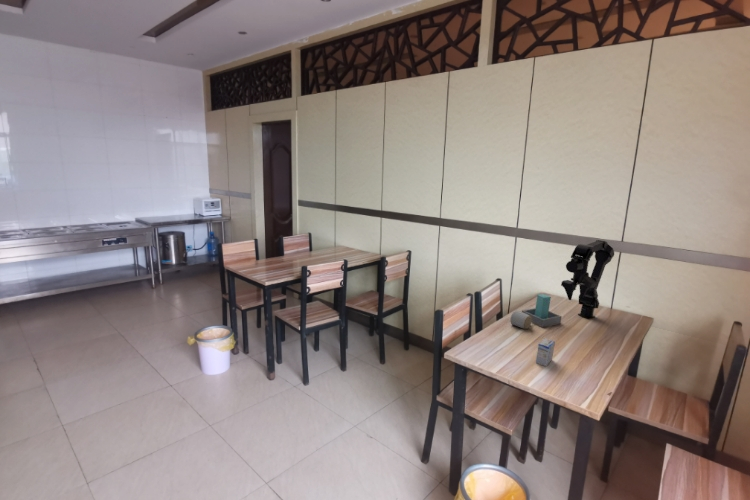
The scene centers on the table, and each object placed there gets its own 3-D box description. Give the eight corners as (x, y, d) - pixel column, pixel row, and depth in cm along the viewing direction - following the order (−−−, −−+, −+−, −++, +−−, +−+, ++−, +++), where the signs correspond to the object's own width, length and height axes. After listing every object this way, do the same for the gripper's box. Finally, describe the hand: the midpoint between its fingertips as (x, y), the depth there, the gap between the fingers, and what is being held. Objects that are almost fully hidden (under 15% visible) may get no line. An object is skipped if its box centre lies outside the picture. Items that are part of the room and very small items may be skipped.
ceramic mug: (524, 331, 192) (526, 316, 190) (509, 325, 197) (511, 311, 196) (534, 326, 199) (536, 312, 197) (519, 321, 204) (521, 307, 203)
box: (539, 314, 215) (540, 307, 214) (560, 323, 203) (561, 316, 202) (521, 317, 209) (522, 310, 208) (542, 327, 197) (543, 320, 196)
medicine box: (541, 356, 167) (544, 337, 165) (552, 360, 164) (555, 340, 162) (535, 363, 161) (538, 343, 159) (546, 367, 158) (549, 347, 156)
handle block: (541, 317, 209) (544, 294, 206) (547, 320, 205) (550, 297, 202) (534, 318, 207) (537, 294, 204) (539, 321, 203) (543, 297, 200)
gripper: (583, 275, 188) (577, 306, 191) (607, 272, 196) (602, 302, 200) (562, 269, 198) (558, 299, 201) (587, 266, 206) (582, 295, 209)
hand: (575, 298), depth 203 cm, fingers open, 9 cm apart
